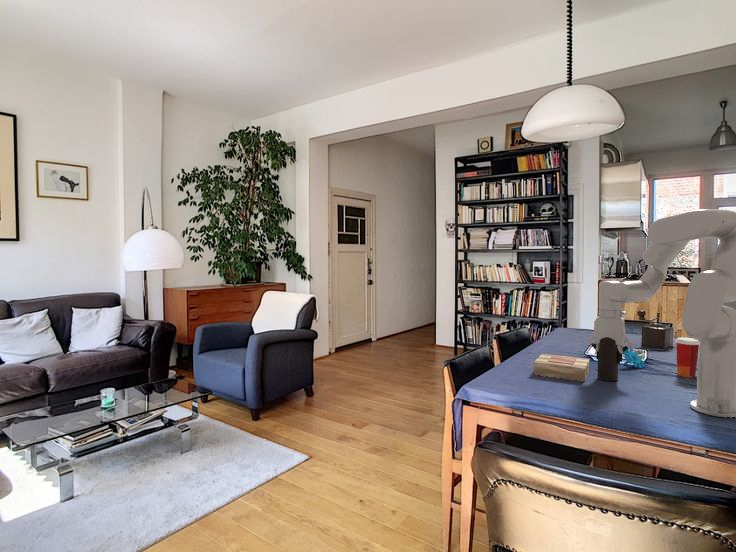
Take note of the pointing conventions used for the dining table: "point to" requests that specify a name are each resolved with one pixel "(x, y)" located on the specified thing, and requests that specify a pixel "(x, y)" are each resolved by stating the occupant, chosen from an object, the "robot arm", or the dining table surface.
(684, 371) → the paper cup
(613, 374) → the vinegar
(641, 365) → the blue lumpy piece
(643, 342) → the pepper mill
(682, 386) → the dining table surface
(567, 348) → the dining table surface
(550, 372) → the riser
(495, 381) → the dining table surface
